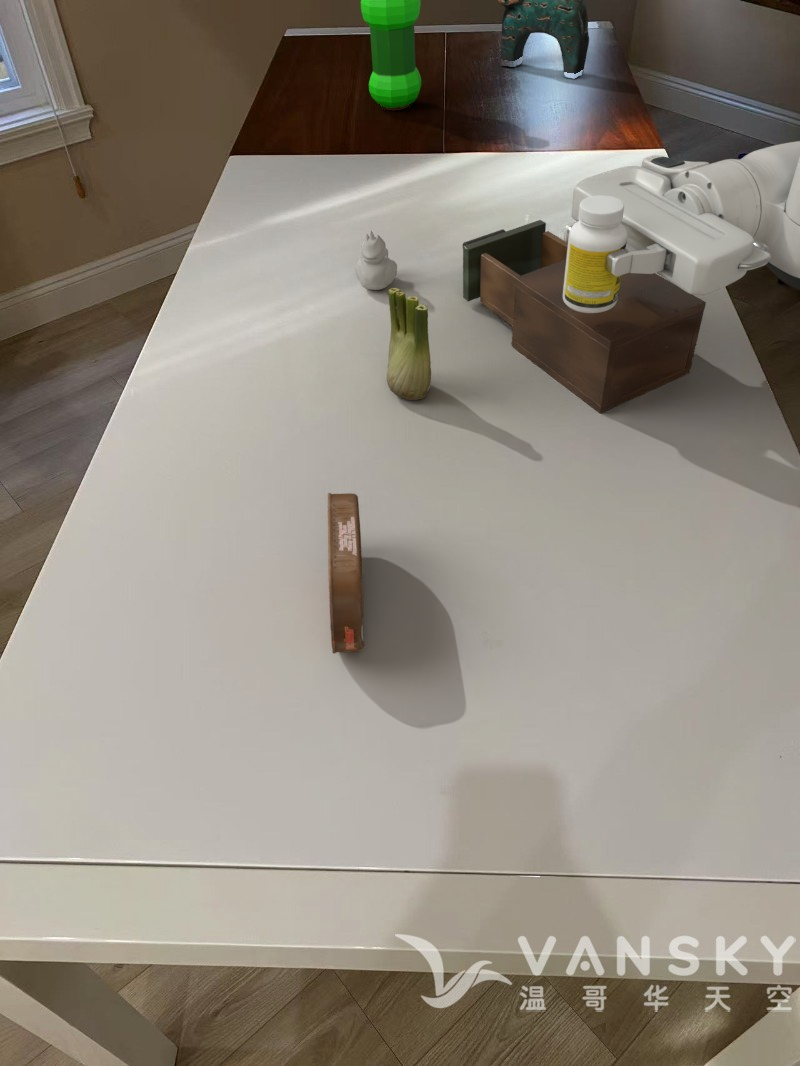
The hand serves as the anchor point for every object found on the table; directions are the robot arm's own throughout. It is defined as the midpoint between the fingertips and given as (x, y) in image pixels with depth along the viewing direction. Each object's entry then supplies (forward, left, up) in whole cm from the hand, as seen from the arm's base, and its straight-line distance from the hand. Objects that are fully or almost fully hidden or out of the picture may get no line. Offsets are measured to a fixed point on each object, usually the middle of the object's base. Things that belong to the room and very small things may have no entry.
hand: (588, 250), depth 78 cm
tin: (+34, +12, -17) cm, 40 cm away
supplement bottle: (-1, 0, -6) cm, 6 cm away
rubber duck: (+5, -34, -17) cm, 38 cm away
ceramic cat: (-64, -89, -17) cm, 111 cm away
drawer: (-7, -18, -16) cm, 25 cm away
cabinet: (-7, -4, -17) cm, 19 cm away
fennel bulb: (+14, -11, -17) cm, 25 cm away
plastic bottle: (-31, -90, -17) cm, 96 cm away
